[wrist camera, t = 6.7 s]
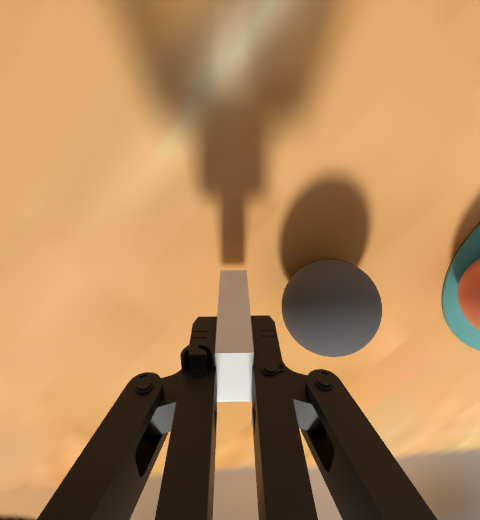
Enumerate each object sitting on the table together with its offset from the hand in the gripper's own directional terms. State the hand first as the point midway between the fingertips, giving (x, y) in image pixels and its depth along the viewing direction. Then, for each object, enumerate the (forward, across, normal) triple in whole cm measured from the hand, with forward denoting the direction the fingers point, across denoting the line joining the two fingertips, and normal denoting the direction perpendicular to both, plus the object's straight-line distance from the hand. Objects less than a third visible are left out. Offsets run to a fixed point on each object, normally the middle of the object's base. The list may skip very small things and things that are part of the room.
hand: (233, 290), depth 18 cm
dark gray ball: (-1, +6, -1) cm, 6 cm away
